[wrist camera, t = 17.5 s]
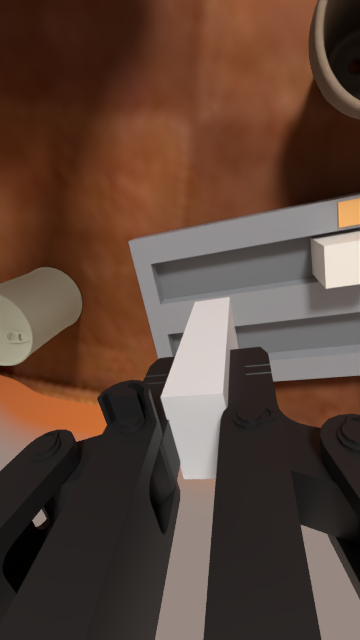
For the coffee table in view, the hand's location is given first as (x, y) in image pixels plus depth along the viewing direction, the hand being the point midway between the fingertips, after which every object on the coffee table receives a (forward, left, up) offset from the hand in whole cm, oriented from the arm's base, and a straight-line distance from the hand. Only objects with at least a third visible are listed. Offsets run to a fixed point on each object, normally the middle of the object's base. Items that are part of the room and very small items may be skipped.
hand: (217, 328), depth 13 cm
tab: (+3, +11, -24) cm, 26 cm away
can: (+3, -26, -26) cm, 37 cm away
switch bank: (+7, +4, -26) cm, 27 cm away
